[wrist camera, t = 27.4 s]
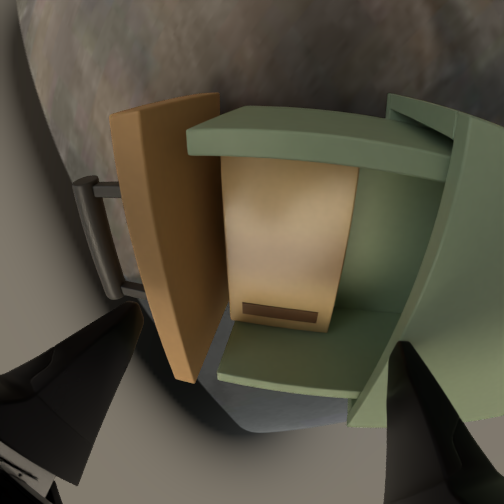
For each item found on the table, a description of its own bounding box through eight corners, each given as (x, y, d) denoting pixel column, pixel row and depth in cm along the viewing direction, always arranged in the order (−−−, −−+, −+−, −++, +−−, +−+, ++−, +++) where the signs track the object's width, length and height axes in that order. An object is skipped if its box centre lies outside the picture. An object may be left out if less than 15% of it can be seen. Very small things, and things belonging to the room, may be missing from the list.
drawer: (151, 284, 22) (103, 355, 16) (119, 103, 14) (21, 135, 8) (414, 318, 18) (430, 408, 12) (473, 126, 11) (561, 174, 5)
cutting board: (235, 127, 13) (218, 138, 11) (355, 136, 12) (362, 149, 10) (241, 292, 18) (230, 321, 16) (328, 303, 17) (327, 334, 15)
